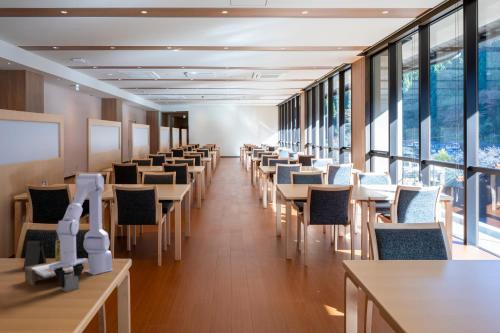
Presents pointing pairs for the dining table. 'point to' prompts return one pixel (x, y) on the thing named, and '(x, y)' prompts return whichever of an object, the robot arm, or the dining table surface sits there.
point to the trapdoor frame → (32, 276)
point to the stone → (70, 283)
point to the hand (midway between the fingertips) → (69, 285)
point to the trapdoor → (46, 272)
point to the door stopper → (34, 254)
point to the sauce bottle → (57, 248)
